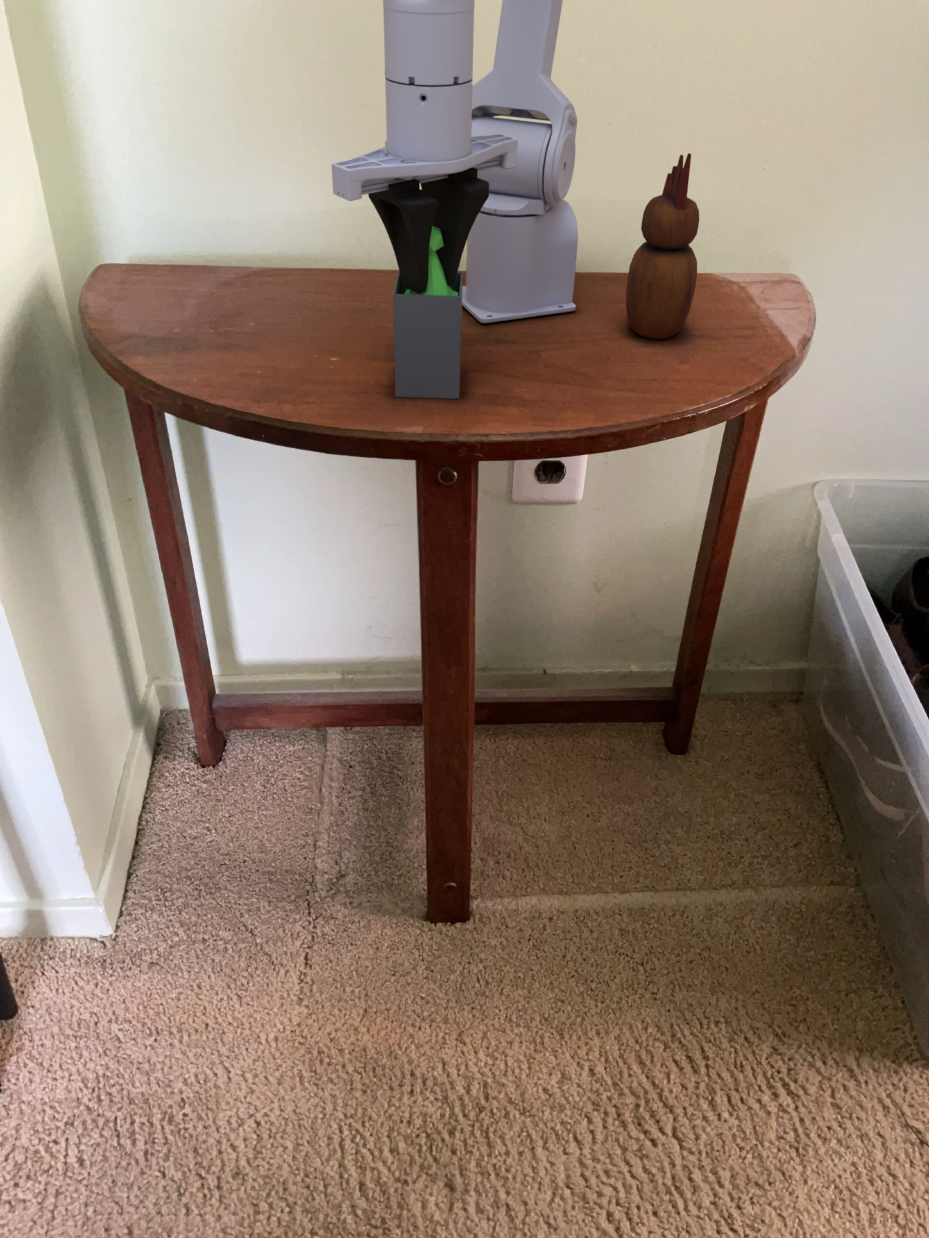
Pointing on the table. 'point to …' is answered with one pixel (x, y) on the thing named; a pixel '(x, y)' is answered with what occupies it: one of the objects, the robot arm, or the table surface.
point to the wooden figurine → (664, 260)
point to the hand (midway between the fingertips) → (429, 284)
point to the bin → (427, 342)
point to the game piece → (435, 269)
